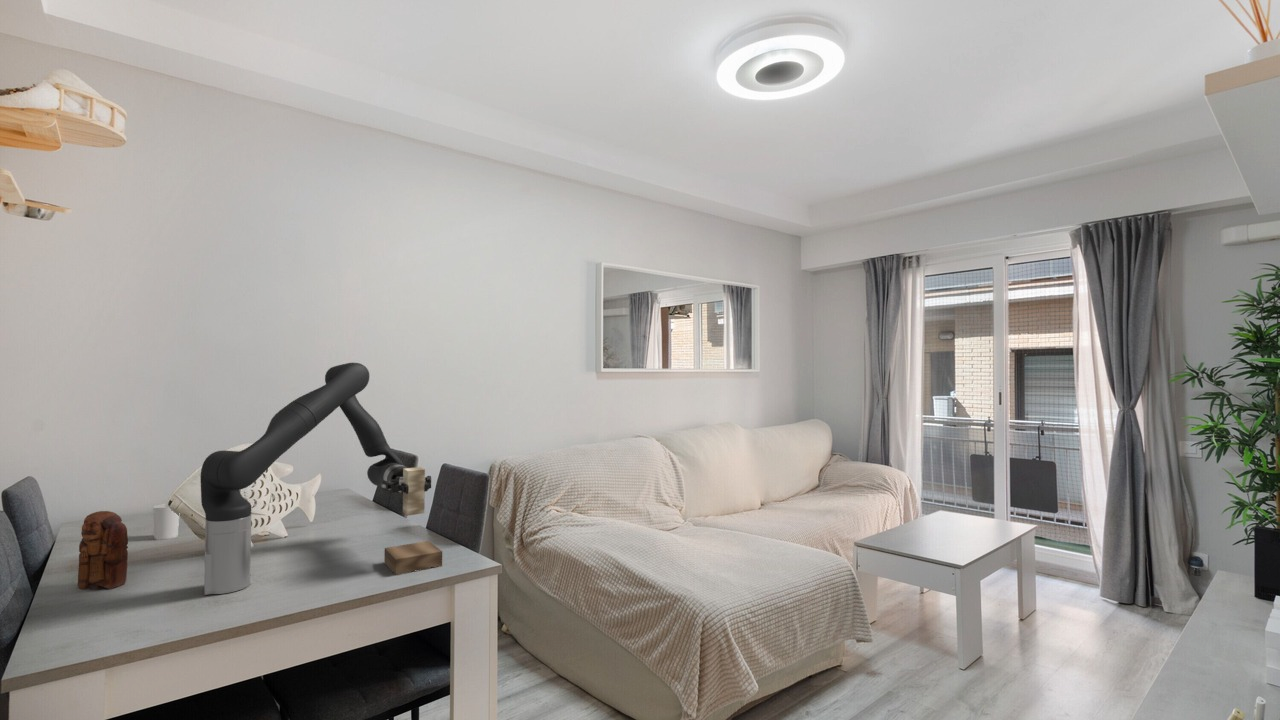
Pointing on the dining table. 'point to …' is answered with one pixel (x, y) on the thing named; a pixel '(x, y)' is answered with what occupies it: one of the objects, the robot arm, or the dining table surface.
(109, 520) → the wooden figurine
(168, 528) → the drinking glass
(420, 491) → the birch pillar
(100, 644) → the dining table surface
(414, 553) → the walnut plinth
